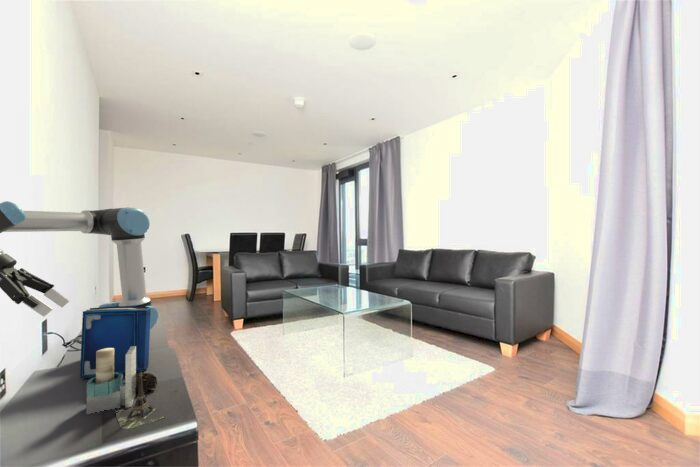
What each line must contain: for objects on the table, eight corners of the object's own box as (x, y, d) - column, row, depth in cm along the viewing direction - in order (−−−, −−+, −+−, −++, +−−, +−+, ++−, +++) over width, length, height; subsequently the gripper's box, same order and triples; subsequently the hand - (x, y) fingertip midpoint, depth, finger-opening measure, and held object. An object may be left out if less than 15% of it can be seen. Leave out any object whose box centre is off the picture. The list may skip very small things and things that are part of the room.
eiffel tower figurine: (112, 413, 93) (112, 367, 93) (151, 400, 100) (152, 358, 100) (122, 435, 82) (122, 384, 83) (165, 419, 90) (166, 372, 90)
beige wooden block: (97, 388, 97) (98, 349, 97) (115, 385, 99) (115, 347, 99) (93, 394, 93) (94, 354, 93) (111, 391, 95) (112, 351, 95)
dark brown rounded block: (91, 401, 99) (91, 383, 100) (102, 391, 106) (102, 374, 106) (154, 393, 104) (154, 376, 104) (160, 384, 110) (160, 368, 111)
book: (152, 365, 127) (153, 303, 127) (147, 372, 120) (147, 307, 120) (87, 373, 120) (88, 307, 120) (78, 380, 113) (79, 311, 114)
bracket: (92, 403, 98) (92, 351, 98) (135, 395, 103) (136, 345, 103) (83, 416, 90) (84, 360, 90) (131, 407, 95) (131, 354, 95)
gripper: (1, 267, 101) (62, 309, 107) (-54, 275, 79) (26, 328, 85) (24, 251, 103) (81, 292, 110) (-24, 254, 81) (52, 306, 87)
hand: (58, 308), depth 97 cm, fingers open, 13 cm apart
